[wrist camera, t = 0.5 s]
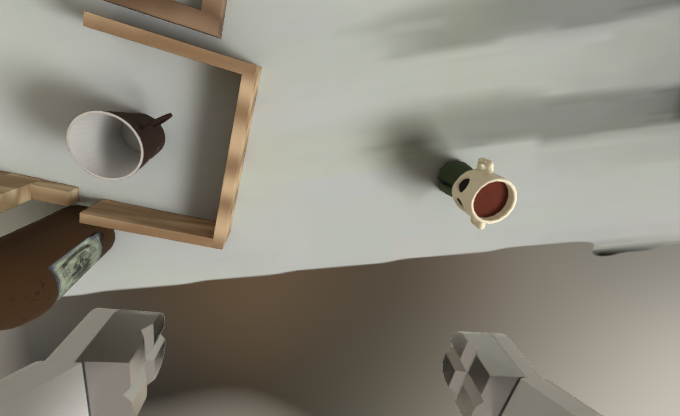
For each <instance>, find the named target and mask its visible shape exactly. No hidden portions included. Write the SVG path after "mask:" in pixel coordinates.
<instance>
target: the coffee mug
mask: <svg viewBox="0 0 680 416" xmlns="http://www.w3.org/2000/svg"><path fill="white" fill-rule="evenodd" d="M172 116H173V115H172V114H171V113H169V114H166V115H163V116H161V117H159V118H157V119H154V118H152V117H150V116H148V115H145V114H140V113H125V112H110V111H89V112H85V113H82V114H80V115H78V116H77V117H76V118H74V119H73V121H72V122H71V123H70V125H69V127H68V129H67V135H66V140H67V146H68V150H69V152H70V154H71V156H72V157H73V159H74V160H75V162H76V163H77V164H78V165H79V166H80V167H81V168H82V169H84V170H85V171H86V172H88V173H89V174H91V175H93V176H95V177H98V178H101V179H105V180H122V179H125V178H128V177H130V176H132V175H133V174H134V173H136V172H137V171H138V170H139V169H140V168H141V167H142V166H144V165H145V164H146V163H147V162H148V161H149V160H150V159H151V158H153V157H154V156H155V155H156V154H157V153H158V152H159V151H160V150H161V149H162V148H163V146H164V143H165V133H164V131H163V128H162V127H161V124H162V123H164V122H165V121H167V120H168V119H170V118H171V117H172Z"/></svg>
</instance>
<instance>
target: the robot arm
mask: <svg viewBox="0 0 680 416" xmlns="http://www.w3.org/2000/svg"><path fill="white" fill-rule="evenodd" d="M164 326H165V320H164V315H163V314H162V313H157V312H145V311H133V310H122V309H120V310H116V309H105V308H96V309H94V310H92V311H91V312H89V313H88V315H87V316H86V317H85V318H84V319H83V320H82V321H81V322H80V323H79V324H78V326H77V327H76V328H75V329H74V330H73V331H72V332H71V333H70V334H69V335H68V336H67V338H66V339H65V340H64V341H63V342H62V343H61V344H60V345H59V346H58V347H57V348H56V350H55V351H54V352H53V353H52V354H51V355H50V356H49V357H48V358H47V359H46V361H36V362H34V363H32V364H30V365H28V366H26V367H24V368H22V369H20V370H18V371H16V372H14V373H12V374H10V375H8V376H6V377H5V378H2V379H0V416H137V415H138V413H139V411H140V409H141V407H142V405H143V402H144V401H145V398H146V397H147V385H148V384H149V383H150V382H152V381H153V380H154V379H155V378H156V376H157V374H158V371H159V369H160V367H161V363H162V360H163V356H164V350H165V339H164V337H163V336H162V335H161V334H160V333H161V332H162V330H163V328H164ZM450 342H451V345H452V348H451V349H450V350H449V351H447V352H446V353H445V356H444V359H443V374H444V378H445V381H446V383H447V385H448V387H449V388H450V389H451V390H452V391H454V392H455V393H456V394H457V397H456V404H457V406H458V408H459V410H460V412H461V414H462V416H603V415H601V414H600V413H598V412H597V411H595V410H593V409H592V408H591V407H589V406H587V405H586V404H584V403H583V402H581V401H580V400H578V399H577V398H575V397H574V396H572V395H571V394H569V393H568V392H566V391H565V390H563V389H562V388H560V387H558V386H557V385H556V384H554V383H553V382H551V381H550V380H548V379H542V378H541V376H540V375H539V374H538V373H537V371H536V370H535V369H534V368H533V367H532V365H531V364H530V363H529V362H528V360H527V359H526V358H525V357H524V356H523V354H522V353H521V352H520V351H519V350H518V348H517V347H516V346H515V345H514V343H513V342H512V341H511V340H510V339H509V337H508V336H506V335H504V334H502V333H478V332H459V331H457V332H455V333H454V334H453V336H452V339H451V341H450Z"/></svg>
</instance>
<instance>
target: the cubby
mask: <svg viewBox="0 0 680 416" xmlns="http://www.w3.org/2000/svg"><path fill="white" fill-rule="evenodd" d="M83 26H86V27H89V28H92V29H95V30H99V31H102V32H105V33H108V34H112V35H115V36H118V37H122V38H125V39H128V40H131V41H135V42H138V43H141V44H144V45H148V46H151V47H154V48H157V49H161V50H164V51H167V52H170V53H174V54H177V55H180V56H183V57H187V58H190V59H193V60H196V61H200V62H203V63H206V64H210V65H213V66H216V67H219V68H223V69H226V70H229V71H232V72H236V73H239V74H242V78H241V83H240V89H239V95H238V100H237V106H236V112H235V117H234V123H233V129H232V135H231V140H230V146H229V152H228V157H227V163H226V169H225V174H224V180H223V186H222V192H221V197H220V203H219V209H218V214H217V220H216V222H214V221H209V220H204V219H199V218H194V217H189V216H184V215H180V214H175V213H170V212H165V211H160V210H155V209H150V208H145V207H141V206H136V205H131V204H126V203H121V202H116V201H111V200H106V199H103V200H101V201H99V202H97V203H96V204H94V205H92V206H91V207H89V208H87V209H85V210H84V211H82V212H80V223H84V224H89V225H94V226H100V227H105V228H110V229H116V230H121V231H126V232H132V233H137V234H142V235H147V236H153V237H158V238H163V239H169V240H174V241H179V242H185V243H190V244H195V245H201V246H206V247H211V248H217V249H223V246H224V244H225V242H226V240H227V238H228V236H229V234H230V229H231V224H232V219H233V214H234V208H235V203H236V198H237V193H238V188H239V183H240V177H241V172H242V167H243V162H244V157H245V152H246V146H247V141H248V136H249V131H250V126H251V121H252V115H253V110H254V105H255V100H256V95H257V90H258V84H259V79H260V74H261V69H262V68H261V67H259V66H256V65H253V64H250V63H247V62H244V61H241V60H237V59H234V58H231V57H228V56H225V55H221V54H218V53H215V52H212V51H209V50H206V49H202V48H199V47H196V46H193V45H190V44H187V43H183V42H180V41H177V40H174V39H171V38H168V37H164V36H161V35H158V34H155V33H152V32H149V31H145V30H142V29H139V28H136V27H133V26H130V25H126V24H123V23H120V22H117V21H114V20H111V19H107V18H104V17H101V16H98V15H95V14H92V13H88V12H85V11H84V20H83Z"/></svg>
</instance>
